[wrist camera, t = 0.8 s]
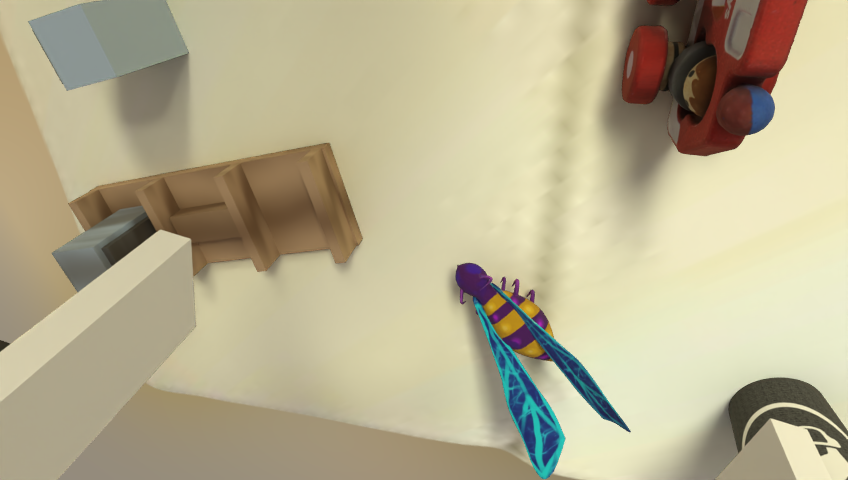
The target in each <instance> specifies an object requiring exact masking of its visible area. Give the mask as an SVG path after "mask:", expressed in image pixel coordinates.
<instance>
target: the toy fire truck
mask: <svg viewBox="0 0 848 480" xmlns="http://www.w3.org/2000/svg"><path fill="white" fill-rule="evenodd" d="M807 1H808V0H698V1H697V5H696V9H695V13H694V17H693V21H692V25H691V30H690V34H689V38H688V43H687V46H685V44H684V43H681V42H668V32H667V30H666V29H665V28H664V27H662V26H645V25H644V26H639V27H638V28H636V29H635V31H634V33H633V35H632V37H631V40H630V43H629V47H628V50H627V54H626V59H625V65H624V71H623V80H622V96H623V100H624V101H625V102H627V103H634V104H649V103H651V102H652V101H653V100H654V99H655V97H656V95H657V93H658V91H659V90H662V91H670V93H671V95H672V96H673V102H672V106H671V110H670V114H669V118H668V127H667V130H668V134H669V136H670V137H671V139H672V141H673V142H674V144H675V146H676V147H677V149H678V151H679V152H680V153H683V154H690V155H699V156H708V155H711V154H716V153H720V152H724V151H728V150H732V149H735V148H737V147H738V146H739V145H740V144H741V142H742V141H743V139H744V137H745V135H750V134H754V133H757V132H759V131H761V130H762V129H764V128H765V127H766V126H767V125H768V124H769V122H770V121H771V120H772V118H773V115H774V111H775V105H774V101H773V98H772V97H771V95H770V94H771V93H772V90H773V88H774V86H775V84H776V81H777V78H778V74H779V71H780V70H781V69H782V68H783V66H784V65H785V63H786V61H787V58H788V55H789V52H790V49H791V46H792V44H793V42H794V38H795V35H796V33H797V30H798V27H799V24H800V20H801V18H802V16H803V12H804V9H805V6H806V4H807ZM647 2H648V3H649V5H666V6H669V5H674V4H676V3H678V2H679V0H647Z"/></svg>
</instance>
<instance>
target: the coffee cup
mask: <svg viewBox="0 0 848 480" xmlns="http://www.w3.org/2000/svg"><path fill="white" fill-rule="evenodd" d="M729 414H730V419H731V423H732V428H733V432H734V436H735V441H736V445H737V449H738V453H739V452H740V451H741V450H742V449H743V448H744V447H745V446H746V445H747V443H748V442H749V441H750V440H751V439H752V438H753V437H754V436H755V435H756V433H757V432H758V431H759V430H760V429H761V428H762V427H763V426H764V425H765V424H766V422H767V421H768V420H769V419H770V418H771V419H775V420H778V421H781V422H784V423H787V424H791V425H794V426H797V427H800V428H804V429H807V430H808V432H809V434H810V436H811V438H812V440H813V442H814V444H815V446H816V448H817V450H818V452H819V454H820V456H821V458H822V461H823V463H824V465H825V467H826V469H827V471H828V473H829V475H830V477H831V479H832V480H848V430H847V429H846V428H845V426H844V425H843V423H842V422H841V421H840V419H839V418H838V416H837V415H836V414H835V412H834V411H833V409H832V408H831V407H830V405H829V404H828V402H827V401H826V400H825V398H824V397H823V395H822V394H821V393H820V392H819V391H818V390H817V389H816V388H815V387H813V386H812V385H810V384H808V383H806V382H803V381H800V380H796V379H790V378H770V379H764V380H760V381H757V382H754V383H751V384H749V385H747V386H745V387H744V388H742V389H741V390H739V391H738V392H737V393H736V394H735V395H734V397H733V398H732V400H731V402H730V405H729Z"/></svg>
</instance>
